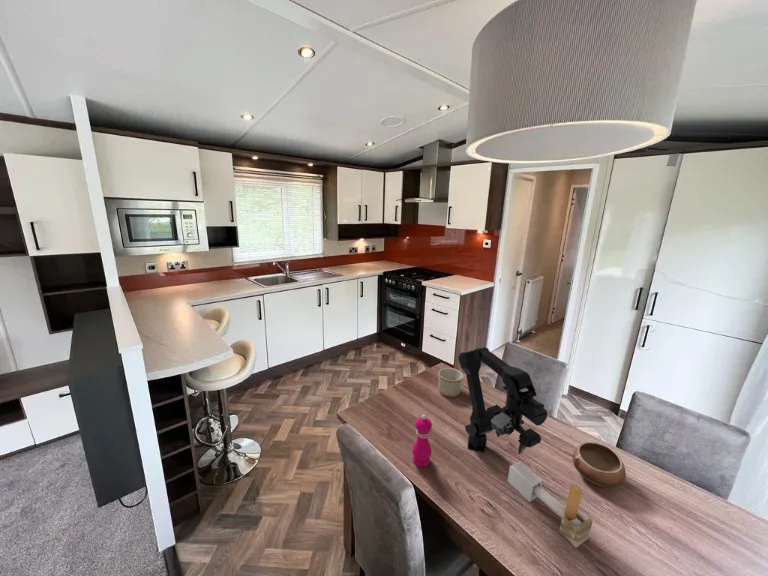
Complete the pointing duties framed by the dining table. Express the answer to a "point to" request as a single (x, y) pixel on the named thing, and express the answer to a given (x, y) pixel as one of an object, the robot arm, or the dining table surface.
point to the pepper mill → (422, 442)
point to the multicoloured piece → (571, 504)
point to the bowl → (599, 464)
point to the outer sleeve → (523, 480)
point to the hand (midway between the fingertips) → (508, 444)
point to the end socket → (576, 530)
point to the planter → (450, 382)
